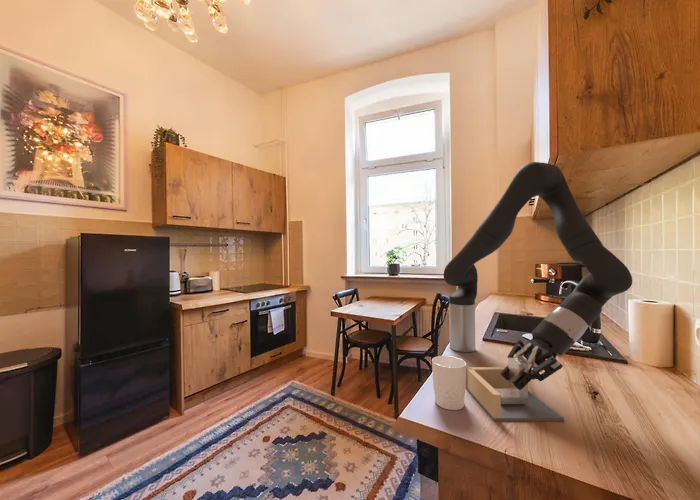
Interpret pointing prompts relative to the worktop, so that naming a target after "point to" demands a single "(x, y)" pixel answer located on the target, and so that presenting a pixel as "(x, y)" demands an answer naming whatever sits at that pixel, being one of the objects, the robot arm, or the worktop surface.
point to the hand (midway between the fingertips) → (509, 381)
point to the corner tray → (483, 390)
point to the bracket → (512, 393)
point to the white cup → (449, 382)
